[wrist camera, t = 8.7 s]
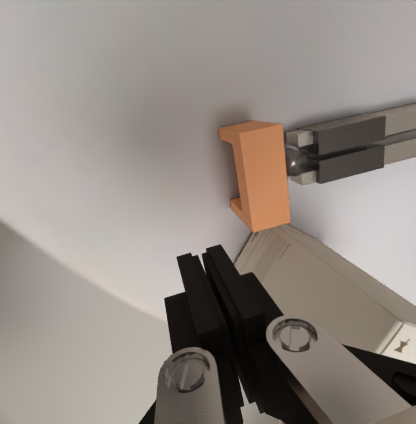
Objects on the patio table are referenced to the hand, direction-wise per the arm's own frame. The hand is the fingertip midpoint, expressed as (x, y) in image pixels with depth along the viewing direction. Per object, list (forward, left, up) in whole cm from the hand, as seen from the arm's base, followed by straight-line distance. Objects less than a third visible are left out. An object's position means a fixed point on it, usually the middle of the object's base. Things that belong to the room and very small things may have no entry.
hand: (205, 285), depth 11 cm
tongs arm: (-19, +1, -15) cm, 24 cm away
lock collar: (-7, 0, -15) cm, 16 cm away
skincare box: (-9, +9, -15) cm, 20 cm away
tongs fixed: (-19, -1, -15) cm, 24 cm away
